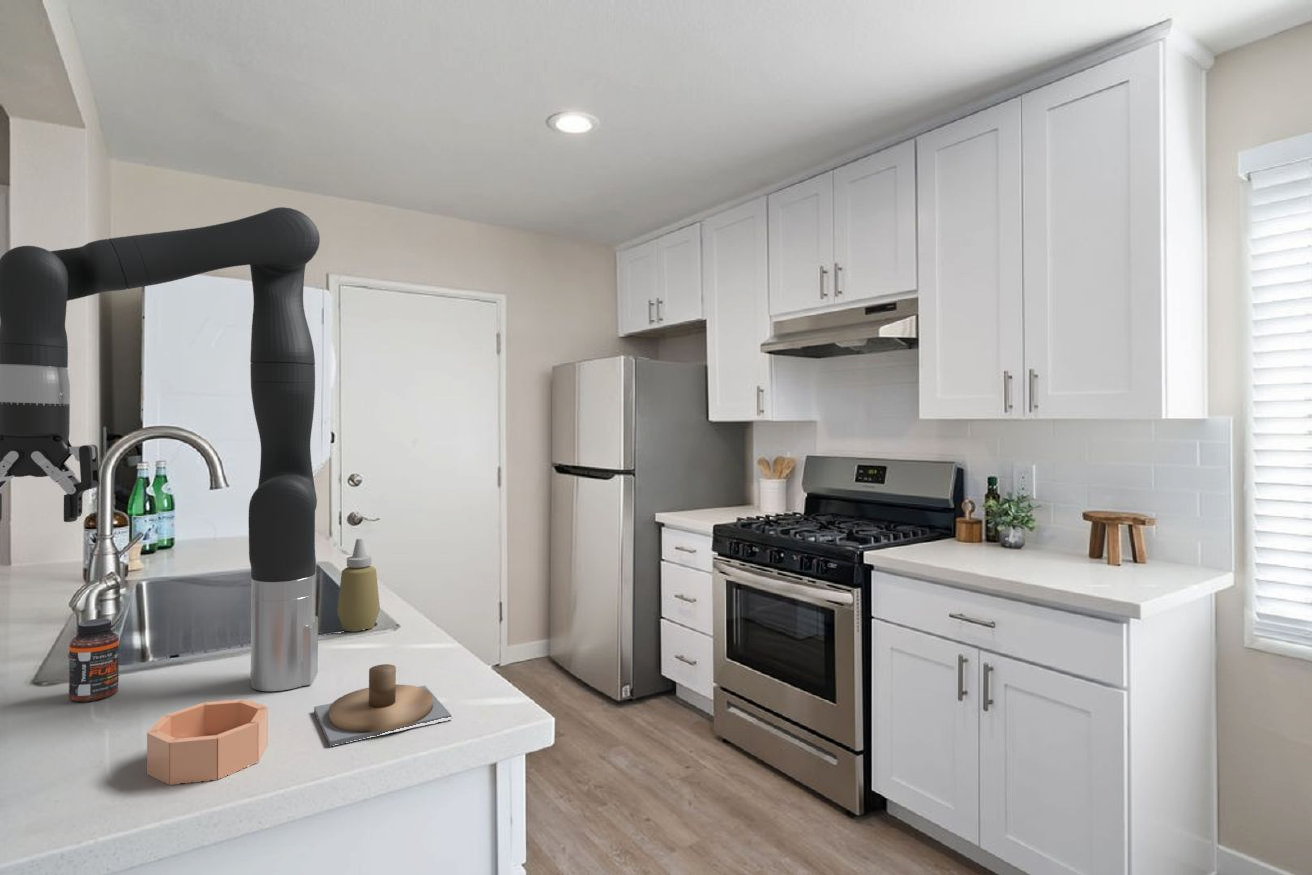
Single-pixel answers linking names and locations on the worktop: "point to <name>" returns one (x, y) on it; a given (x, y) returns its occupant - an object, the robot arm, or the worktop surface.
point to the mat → (343, 736)
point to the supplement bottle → (93, 661)
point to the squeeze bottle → (358, 592)
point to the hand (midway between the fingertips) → (32, 521)
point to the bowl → (207, 741)
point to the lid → (381, 704)
